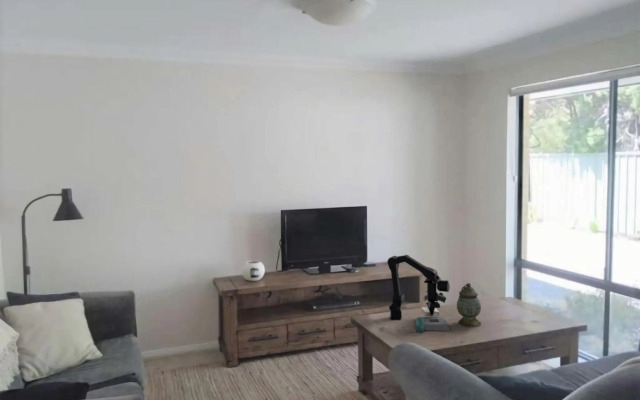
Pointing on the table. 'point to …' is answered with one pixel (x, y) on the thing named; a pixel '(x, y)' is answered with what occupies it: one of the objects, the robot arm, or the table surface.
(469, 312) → the lidded ginger jar
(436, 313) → the sliding lid
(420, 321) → the teal peg
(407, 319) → the table surface
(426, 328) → the socket block
